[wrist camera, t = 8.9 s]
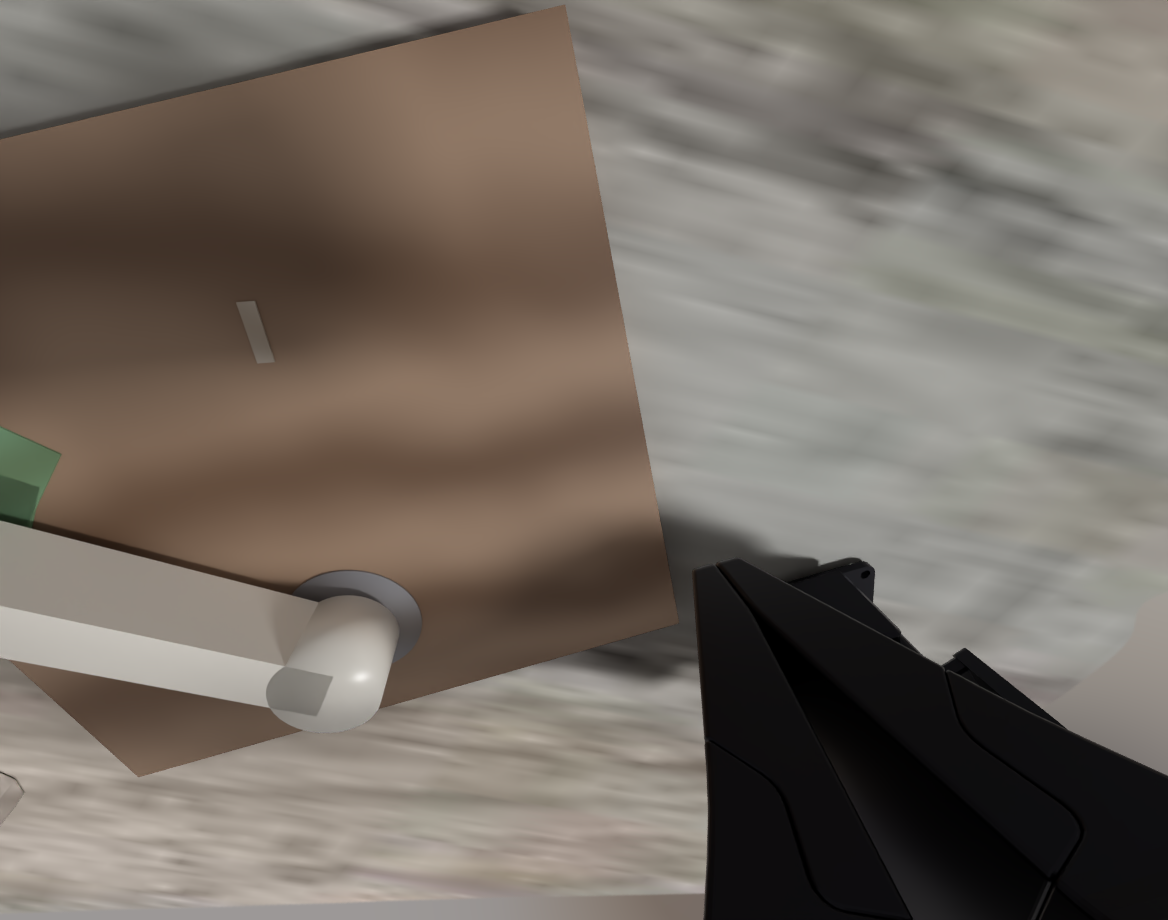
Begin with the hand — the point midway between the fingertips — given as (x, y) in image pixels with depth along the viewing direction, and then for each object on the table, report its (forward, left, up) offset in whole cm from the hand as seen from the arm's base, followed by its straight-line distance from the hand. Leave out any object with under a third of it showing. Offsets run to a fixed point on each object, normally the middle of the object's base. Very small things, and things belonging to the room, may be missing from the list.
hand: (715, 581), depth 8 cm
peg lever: (-2, +17, -9) cm, 19 cm away
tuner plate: (0, +11, -11) cm, 16 cm away
